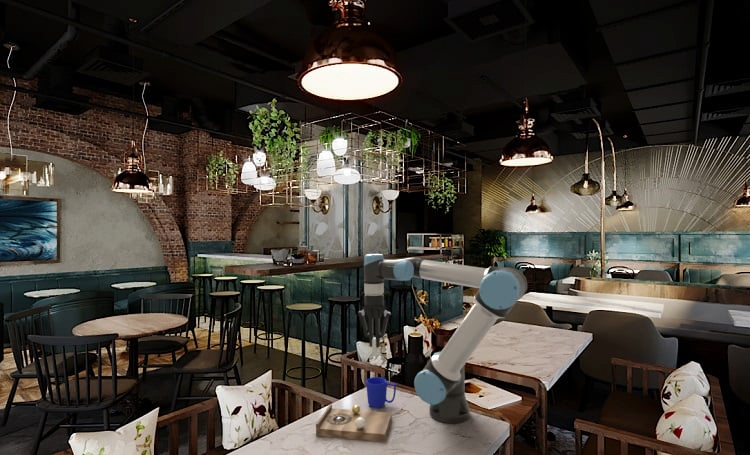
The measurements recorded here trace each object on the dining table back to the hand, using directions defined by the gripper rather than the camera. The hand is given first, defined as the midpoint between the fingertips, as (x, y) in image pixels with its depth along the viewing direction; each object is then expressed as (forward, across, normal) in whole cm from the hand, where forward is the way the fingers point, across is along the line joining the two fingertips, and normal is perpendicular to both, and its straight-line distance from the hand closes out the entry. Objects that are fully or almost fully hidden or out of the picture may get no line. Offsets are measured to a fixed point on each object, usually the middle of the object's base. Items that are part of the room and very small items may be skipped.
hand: (374, 355), depth 155 cm
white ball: (+18, +2, +17) cm, 25 cm away
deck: (+22, +5, +12) cm, 26 cm away
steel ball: (+21, +11, +12) cm, 27 cm away
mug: (+23, -1, -7) cm, 24 cm away
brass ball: (+18, +6, +7) cm, 21 cm away
